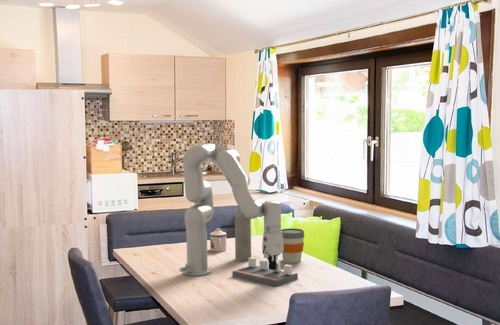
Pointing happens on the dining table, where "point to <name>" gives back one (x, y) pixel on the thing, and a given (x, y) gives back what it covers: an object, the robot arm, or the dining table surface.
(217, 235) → the teacup with lid
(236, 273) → the grey slider switch panel
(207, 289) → the dining table surface
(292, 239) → the reusable coffee cup
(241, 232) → the thermos bottle
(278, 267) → the block
